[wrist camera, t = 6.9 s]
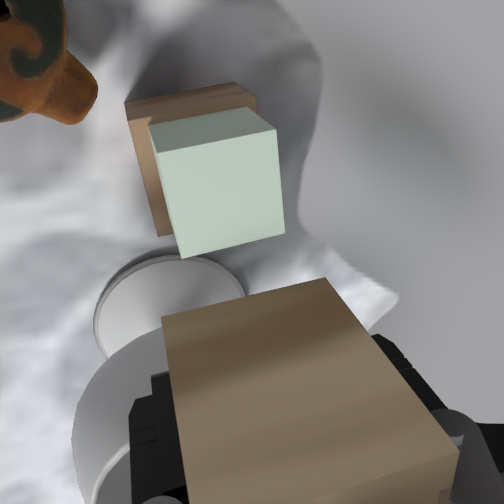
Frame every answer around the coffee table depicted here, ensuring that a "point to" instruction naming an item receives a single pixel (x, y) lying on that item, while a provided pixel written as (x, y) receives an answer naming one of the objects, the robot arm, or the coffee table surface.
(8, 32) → the decorative turtle
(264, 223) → the tower cube
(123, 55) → the coffee table surface
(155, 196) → the tower slab
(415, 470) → the oak block
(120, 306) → the chalice
